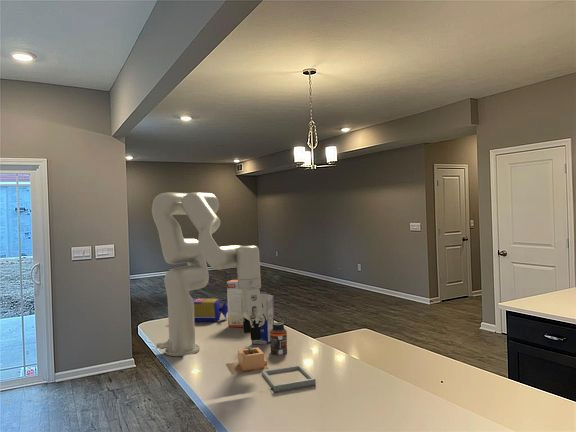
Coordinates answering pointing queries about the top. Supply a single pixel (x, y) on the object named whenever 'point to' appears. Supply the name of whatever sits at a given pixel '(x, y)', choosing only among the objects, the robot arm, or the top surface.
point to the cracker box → (234, 304)
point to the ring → (251, 359)
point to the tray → (291, 385)
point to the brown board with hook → (236, 368)
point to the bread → (208, 310)
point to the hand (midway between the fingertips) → (252, 336)
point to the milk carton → (266, 319)
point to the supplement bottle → (278, 339)
